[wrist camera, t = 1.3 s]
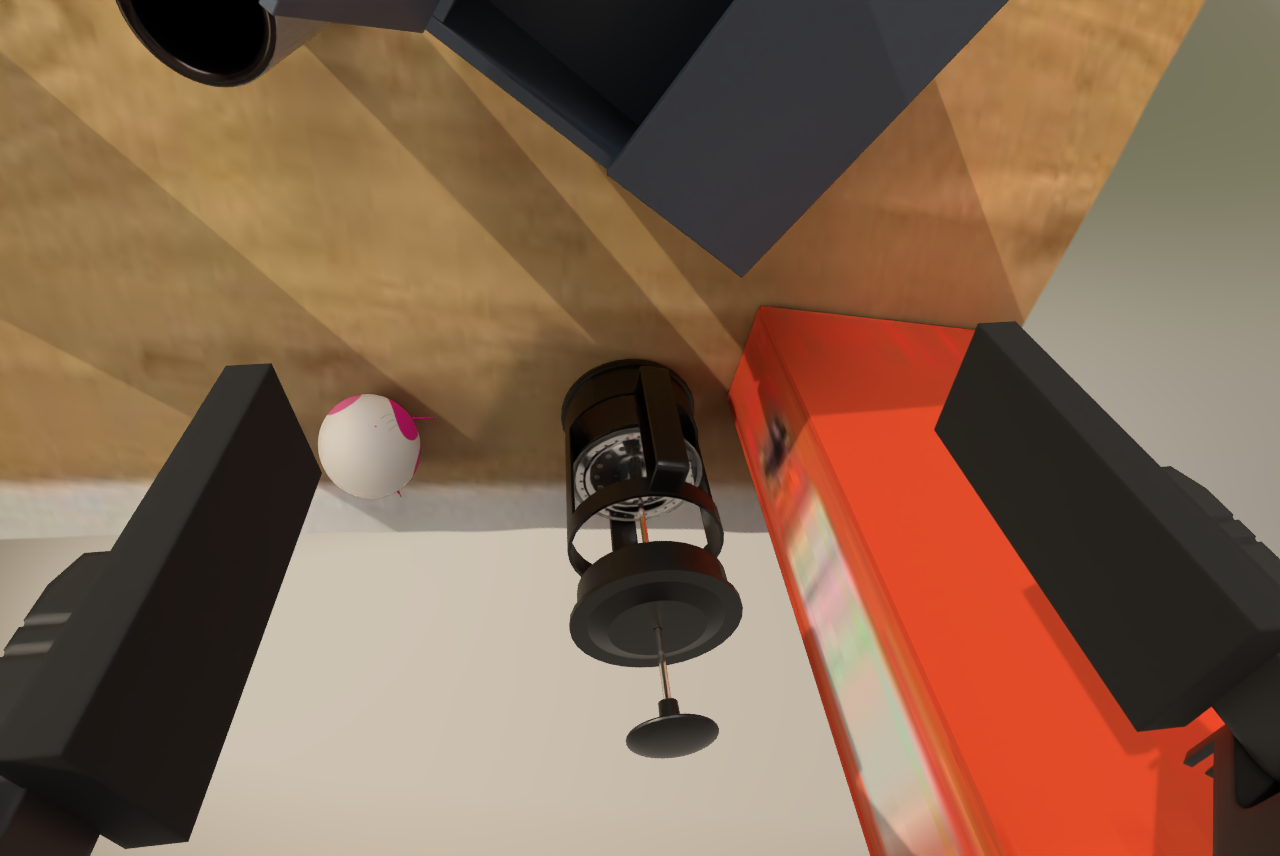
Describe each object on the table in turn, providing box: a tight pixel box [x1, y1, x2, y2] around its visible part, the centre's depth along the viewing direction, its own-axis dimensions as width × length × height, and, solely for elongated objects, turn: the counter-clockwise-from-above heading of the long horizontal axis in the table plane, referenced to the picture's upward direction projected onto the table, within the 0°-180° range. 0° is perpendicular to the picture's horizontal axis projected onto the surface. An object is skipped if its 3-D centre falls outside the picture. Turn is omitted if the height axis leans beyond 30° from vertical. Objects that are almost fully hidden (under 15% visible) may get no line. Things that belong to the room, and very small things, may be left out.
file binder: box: [728, 306, 1225, 856], centre depth 33 cm, size 8×17×32 cm, turn 80°
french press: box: [561, 359, 743, 758], centre depth 37 cm, size 12×9×23 cm
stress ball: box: [318, 394, 438, 499], centre depth 42 cm, size 8×8×7 cm
